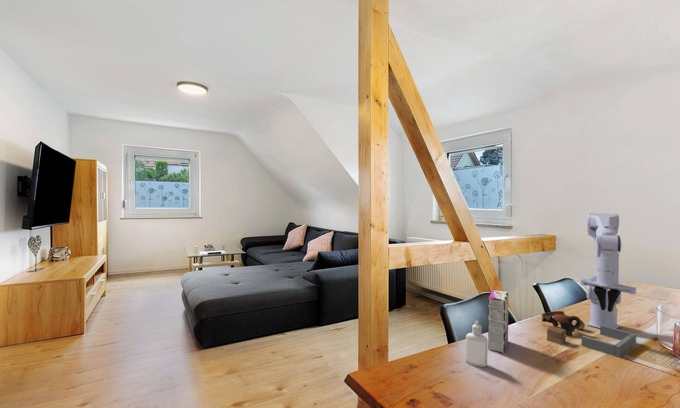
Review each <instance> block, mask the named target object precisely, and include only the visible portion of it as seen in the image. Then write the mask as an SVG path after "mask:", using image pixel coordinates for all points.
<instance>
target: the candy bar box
mask: <svg viewBox="0 0 680 408" xmlns="http://www.w3.org/2000/svg"><path fill="white" fill-rule="evenodd" d="M487 304H488V305H487V306H488V312H487V313H488V314H487V315H488V319H487V320H488V323H487V324H488V325H487V326H488V331H487V332H488V334H487V335H488V336H487V337H488V338H487V340H488V349H487V350H489V351H492V352H498V353H503V354H505V353H506V349H507V346H508V342H509V291H503V290H496V289H493V290H492V291H491V293H490V295H489V297H488V303H487Z"/></svg>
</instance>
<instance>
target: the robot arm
mask: <svg viewBox="0 0 680 408" xmlns="http://www.w3.org/2000/svg"><path fill="white" fill-rule="evenodd" d="M619 226H620V216H619V214H618V213H591V212H588V213H587V214H586V228H587V230H586V231H587V234H588V236H590V237H591V238H592V239H593V241H594V244H595V245H594V246H595V248H594V249H595V255H594V257H595V275H594V276H592V277H590V278H588V279H587V278H582V279H580V285H582V286H586V299H587V300H589V301H590V320H589V321H588V322H587V323H585V325H586V326H590V327H594V328H597V329H600V326H601V325H603V326H607V327H611V328H615V329H619V328H620V327H621V325H620V324H618V308H617V305H619V304H621V300H622V298H621V297H622V293H625V294H630V295H636V294H637V287H634V286H630V285H625V284H624V285H623V284H620V283H619V277H620V276H619V269H620V268H619V266H620V259H619V258H620V253H621V251H622V238H621V236H620V235H619V234H618V232H619Z"/></svg>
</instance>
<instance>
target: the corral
mask: <svg viewBox="0 0 680 408" xmlns="http://www.w3.org/2000/svg"><path fill="white" fill-rule="evenodd" d="M599 329H600V330H599V333H600V335H602V336H605V337H609V338H613V339H617V340H619V341H618V342H617V343H615V344H614V343H610V342H607V341H603V340H601V339H596V338H592V337H589V336H586V335H582V336H581V346H582V347H585V348H588V349H591V350H595V351H597V352H601V353H603V354H607V355H611V356H614V357H617V358H619V357H620V356H623V354H625V351H626V352H627V351H628V350H629V349H631V348H632V347H633V346H634V345H636V344H637V333H635V332H631V331H627V330H622V329H619V328H617V329H615V328H611V327H607V326H603V325H601V326H600V328H599ZM631 346H632V347H631ZM630 347H631V348H630Z"/></svg>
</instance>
